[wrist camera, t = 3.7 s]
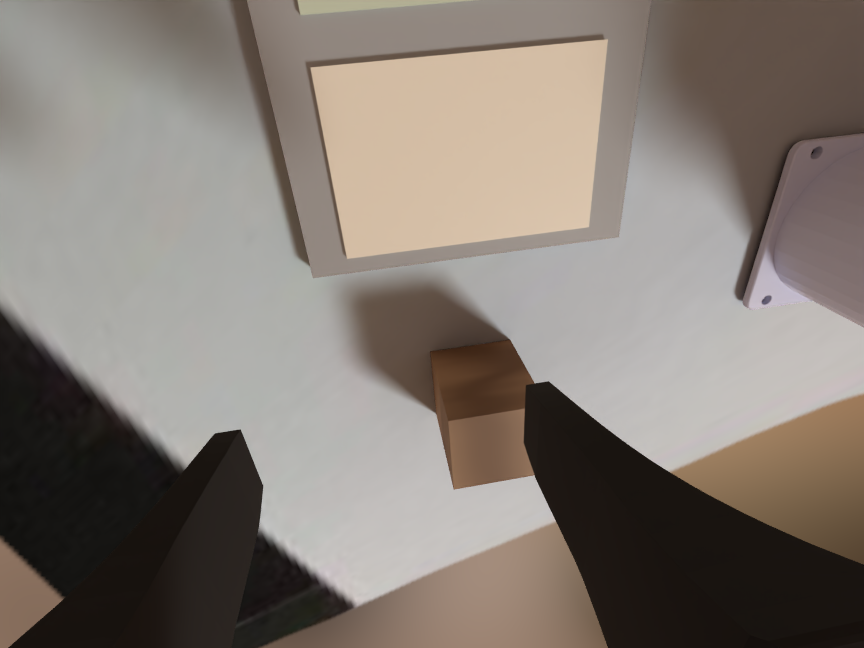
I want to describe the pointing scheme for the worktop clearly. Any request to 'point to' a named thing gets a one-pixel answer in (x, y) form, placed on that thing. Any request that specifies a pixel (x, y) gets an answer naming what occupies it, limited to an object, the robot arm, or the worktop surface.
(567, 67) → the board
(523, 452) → the walnut block
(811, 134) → the worktop surface
